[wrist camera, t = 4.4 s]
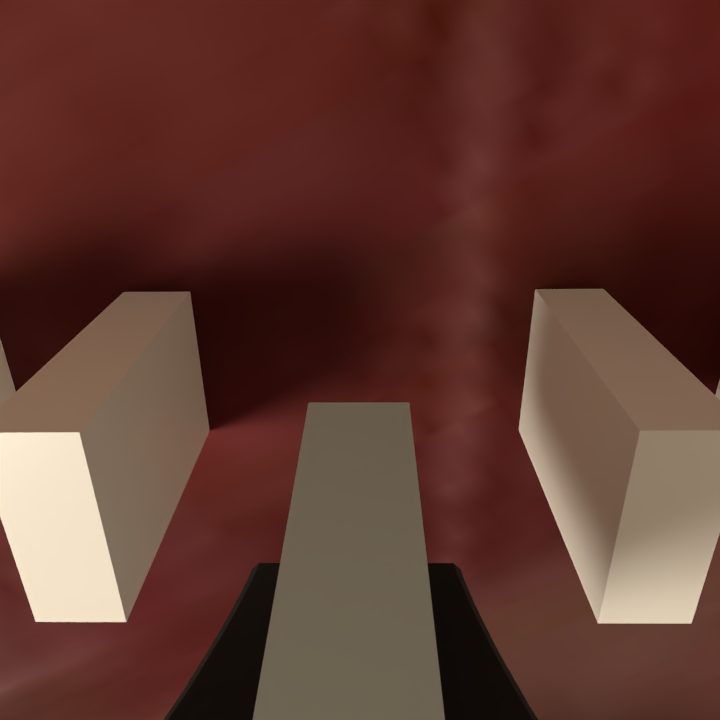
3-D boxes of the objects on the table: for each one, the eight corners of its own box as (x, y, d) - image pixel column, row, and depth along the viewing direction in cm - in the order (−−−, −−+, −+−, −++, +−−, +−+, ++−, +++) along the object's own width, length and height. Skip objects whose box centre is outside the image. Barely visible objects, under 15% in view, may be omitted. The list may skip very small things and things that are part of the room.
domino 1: (190, 291, 16) (79, 432, 10) (209, 430, 18) (126, 622, 12) (123, 292, 16) (-29, 432, 10) (149, 431, 18) (35, 621, 12)
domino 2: (409, 402, 11) (462, 869, 5) (403, 583, 13) (434, 1081, 7) (308, 402, 11) (225, 866, 5) (317, 582, 13) (269, 1078, 7)
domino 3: (603, 288, 16) (751, 430, 10) (579, 429, 18) (691, 623, 12) (535, 289, 16) (640, 430, 10) (518, 429, 18) (597, 623, 12)
